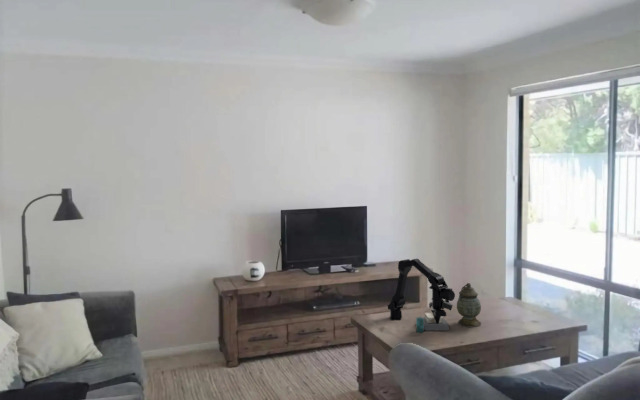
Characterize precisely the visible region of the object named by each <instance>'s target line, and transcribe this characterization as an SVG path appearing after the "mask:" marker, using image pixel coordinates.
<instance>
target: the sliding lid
mask: <svg viewBox="0 0 640 400" xmlns="http://www.w3.org/2000/svg"><path fill="white" fill-rule="evenodd" d="M424 317H425V319H426V320H427V322H428V323H436V321H435V319H434V316H433V314H432V312H425V313H424ZM443 317H444V316H441V317H440V320H439V323H441V322H443Z"/></svg>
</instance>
